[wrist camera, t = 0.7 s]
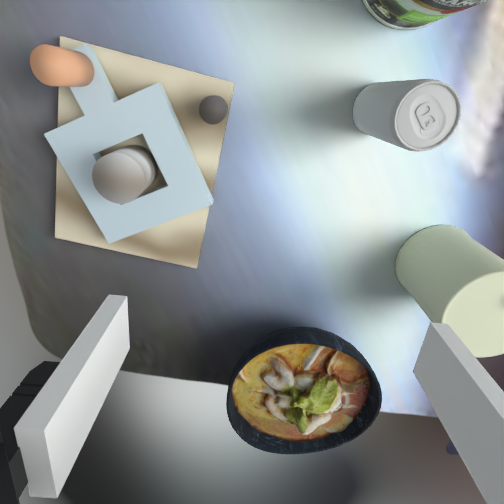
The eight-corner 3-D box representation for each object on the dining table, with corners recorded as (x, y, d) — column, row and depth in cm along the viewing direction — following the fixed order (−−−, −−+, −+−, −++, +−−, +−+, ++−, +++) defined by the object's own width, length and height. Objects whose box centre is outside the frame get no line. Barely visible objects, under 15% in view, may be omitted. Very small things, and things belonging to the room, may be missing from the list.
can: (491, 252, 42) (575, 308, 31) (434, 307, 45) (491, 377, 34) (435, 209, 40) (502, 253, 29) (378, 270, 43) (420, 331, 32)
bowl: (206, 333, 47) (195, 392, 38) (327, 276, 44) (346, 325, 34) (269, 417, 53) (272, 485, 44) (379, 372, 50) (408, 436, 40)
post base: (66, 37, 34) (22, 25, 27) (234, 83, 35) (230, 81, 29) (60, 233, 42) (24, 259, 35) (197, 263, 43) (188, 294, 37)
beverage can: (363, 144, 37) (408, 166, 26) (341, 101, 36) (380, 106, 25) (407, 117, 36) (473, 128, 25) (387, 71, 35) (448, 62, 24)
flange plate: (213, 200, 38) (206, 220, 32) (114, 238, 40) (89, 264, 34) (135, 24, 32) (108, 9, 26) (21, 79, 34) (-29, 77, 28)
